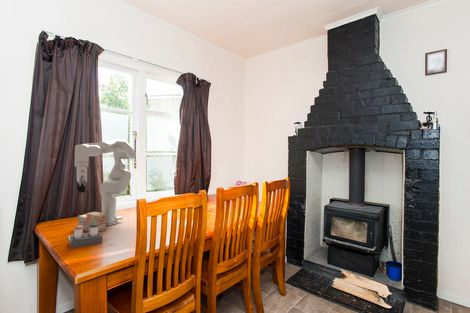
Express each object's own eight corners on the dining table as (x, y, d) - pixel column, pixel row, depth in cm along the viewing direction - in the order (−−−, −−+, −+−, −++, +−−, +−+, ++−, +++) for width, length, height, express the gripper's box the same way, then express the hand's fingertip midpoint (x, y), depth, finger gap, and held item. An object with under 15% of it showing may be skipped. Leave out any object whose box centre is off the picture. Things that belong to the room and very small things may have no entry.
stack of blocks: (77, 229, 170) (78, 211, 170) (86, 226, 176) (87, 209, 176) (97, 234, 161) (97, 215, 161) (106, 232, 166) (106, 213, 166)
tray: (88, 235, 158) (88, 232, 158) (90, 240, 151) (90, 236, 151) (68, 238, 151) (68, 235, 151) (69, 243, 144) (69, 240, 144)
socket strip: (99, 240, 150) (99, 231, 150) (102, 245, 143) (102, 235, 143) (69, 245, 141) (69, 235, 141) (70, 250, 134) (71, 240, 133)
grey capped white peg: (97, 239, 147) (97, 223, 147) (98, 242, 143) (98, 224, 143) (88, 241, 144) (89, 224, 144) (89, 243, 141) (90, 226, 141)
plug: (82, 242, 142) (82, 224, 142) (83, 244, 139) (83, 226, 139) (73, 243, 140) (73, 226, 140) (73, 246, 136) (74, 228, 136)
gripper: (90, 165, 153) (89, 192, 153) (86, 163, 166) (86, 189, 167) (75, 165, 148) (75, 193, 148) (73, 163, 162) (72, 189, 162)
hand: (81, 191), depth 157 cm, fingers open, 9 cm apart
